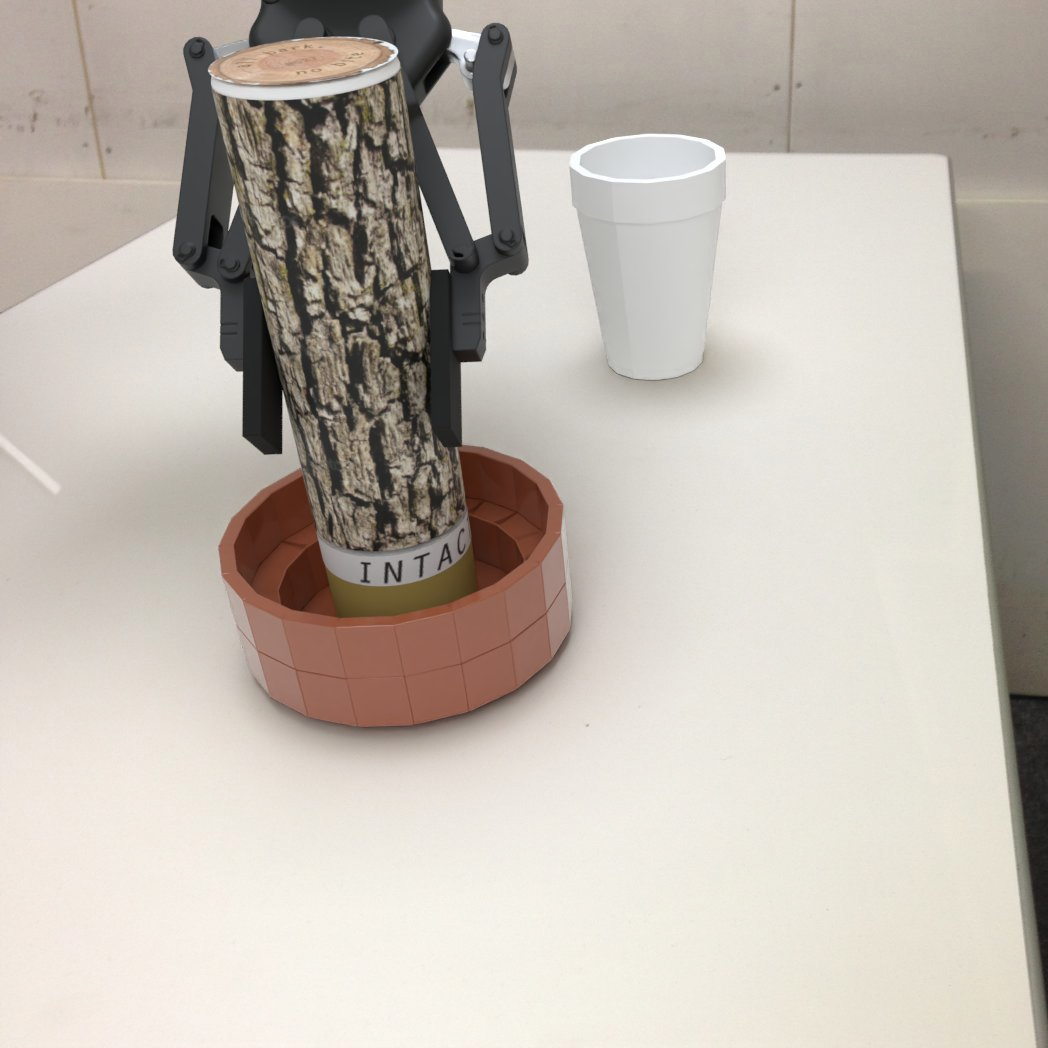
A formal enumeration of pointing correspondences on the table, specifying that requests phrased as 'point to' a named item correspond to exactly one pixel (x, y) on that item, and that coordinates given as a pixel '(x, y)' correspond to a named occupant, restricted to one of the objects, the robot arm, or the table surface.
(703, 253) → the foam cup
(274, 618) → the bowl
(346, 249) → the paper tube
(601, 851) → the table surface
